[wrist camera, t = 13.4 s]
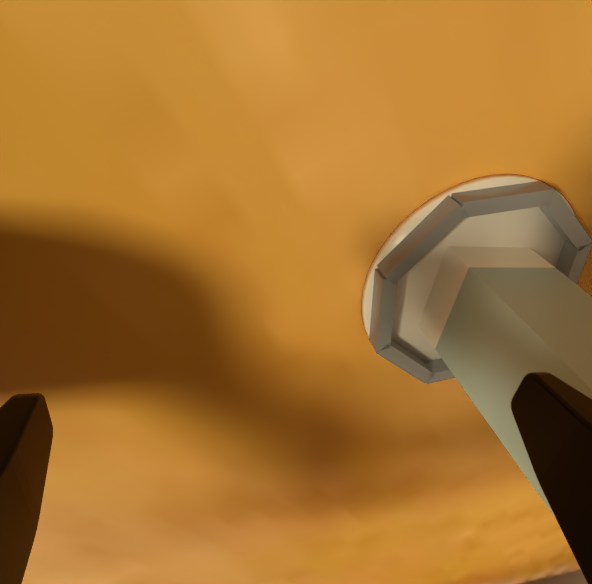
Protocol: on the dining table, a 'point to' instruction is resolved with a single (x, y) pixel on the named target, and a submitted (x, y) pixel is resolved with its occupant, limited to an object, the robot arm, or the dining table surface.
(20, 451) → the robot arm
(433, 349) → the coaster
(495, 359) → the gray block
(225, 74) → the dining table surface
